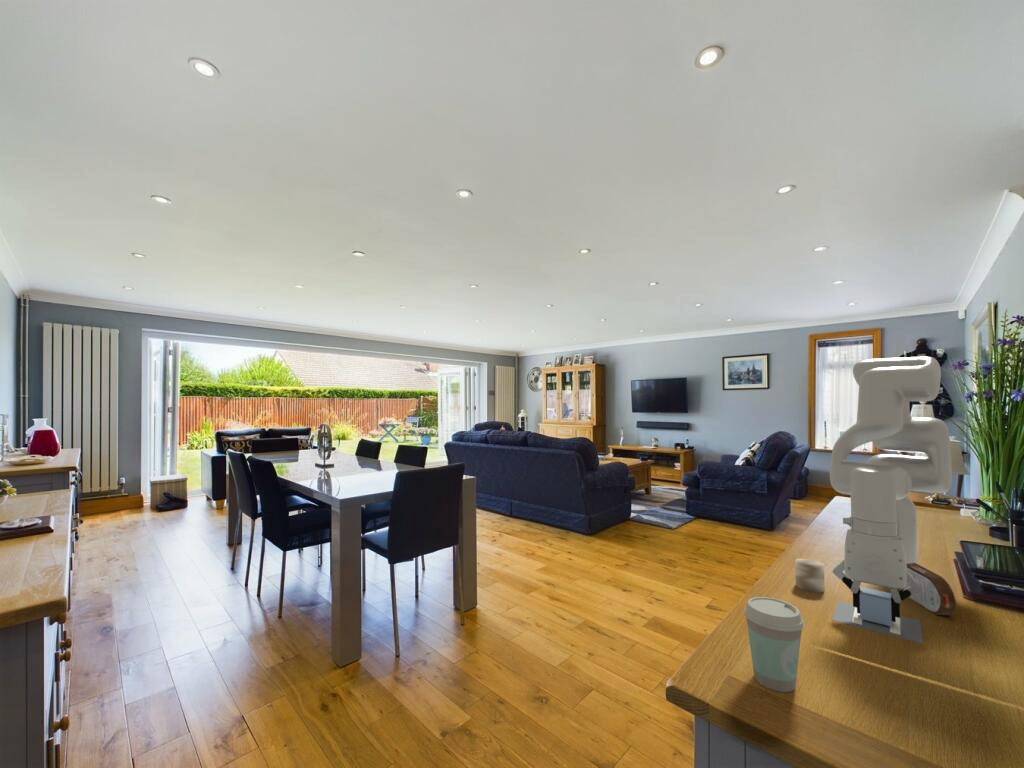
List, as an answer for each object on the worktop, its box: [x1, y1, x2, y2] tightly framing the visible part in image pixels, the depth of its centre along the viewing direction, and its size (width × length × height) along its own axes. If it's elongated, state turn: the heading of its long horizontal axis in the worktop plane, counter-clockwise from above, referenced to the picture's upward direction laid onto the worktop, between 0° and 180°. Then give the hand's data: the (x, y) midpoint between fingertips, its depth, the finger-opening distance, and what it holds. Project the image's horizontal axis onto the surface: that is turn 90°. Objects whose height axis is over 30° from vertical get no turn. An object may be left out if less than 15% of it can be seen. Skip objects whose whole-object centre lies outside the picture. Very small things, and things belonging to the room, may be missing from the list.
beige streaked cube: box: [794, 558, 826, 594], centre depth 110 cm, size 6×6×6 cm
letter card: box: [832, 600, 924, 644], centre depth 93 cm, size 12×14×1 cm
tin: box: [906, 563, 957, 617], centre depth 101 cm, size 15×3×8 cm, turn 168°
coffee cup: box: [743, 596, 805, 693], centre depth 73 cm, size 8×9×12 cm
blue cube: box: [860, 586, 892, 627], centre depth 93 cm, size 5×5×5 cm
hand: (876, 614), depth 93 cm, fingers closed on blue cube, 4 cm apart
